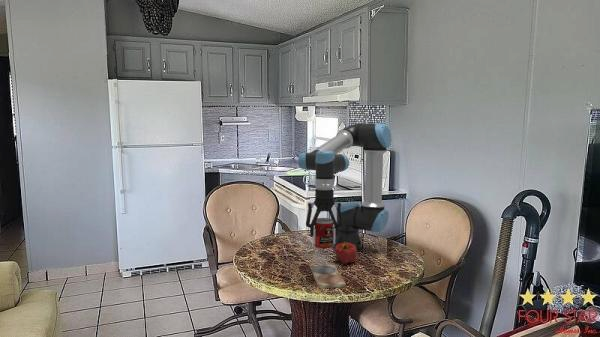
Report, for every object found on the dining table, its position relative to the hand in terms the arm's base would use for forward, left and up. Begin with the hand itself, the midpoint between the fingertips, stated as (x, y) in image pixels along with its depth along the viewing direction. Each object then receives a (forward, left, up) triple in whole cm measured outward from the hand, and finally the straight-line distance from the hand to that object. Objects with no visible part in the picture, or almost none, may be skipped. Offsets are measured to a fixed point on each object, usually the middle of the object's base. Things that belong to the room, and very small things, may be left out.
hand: (323, 243), depth 176 cm
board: (-2, -3, -16) cm, 16 cm away
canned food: (0, 0, -1) cm, 1 cm away
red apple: (-14, -20, -16) cm, 29 cm away
